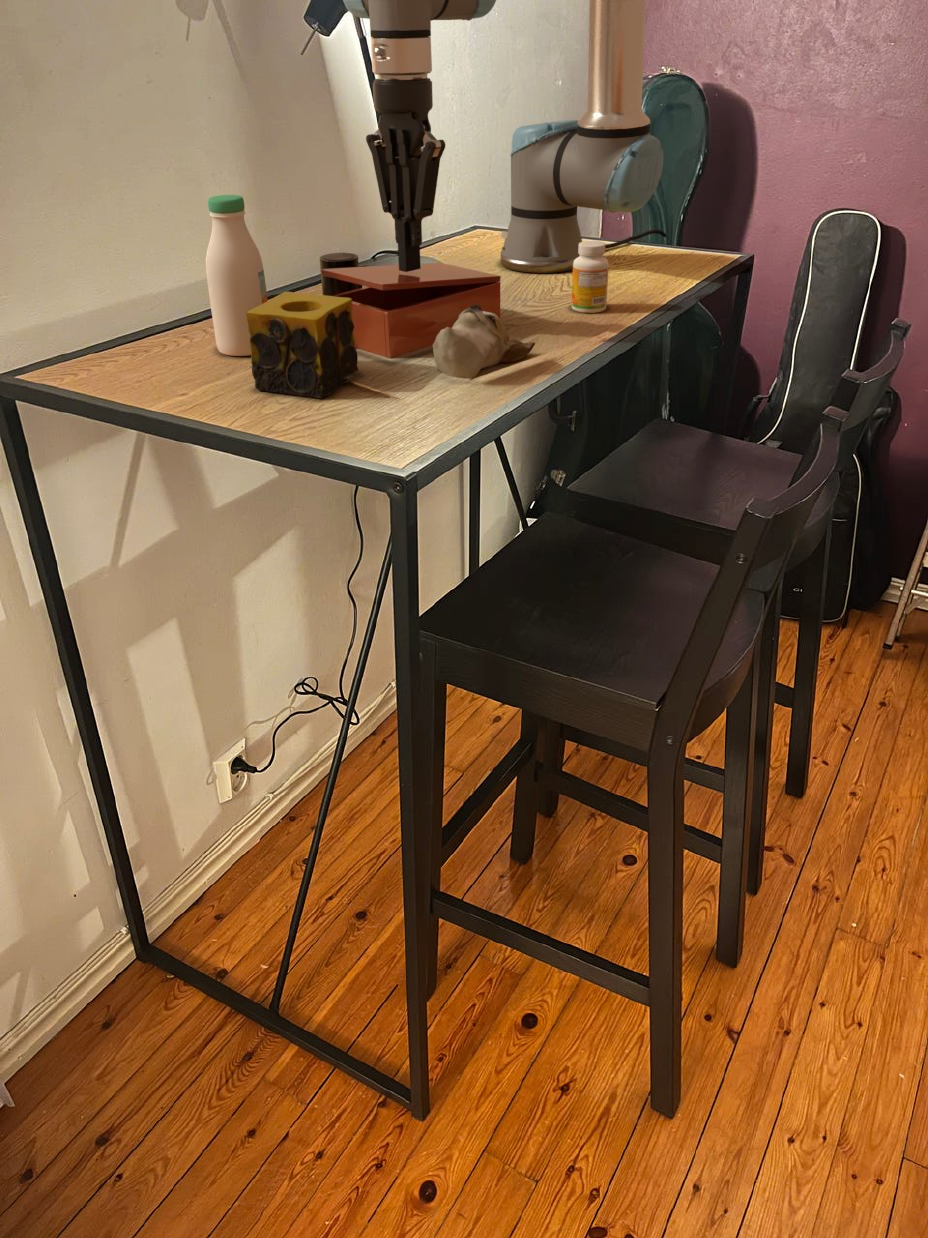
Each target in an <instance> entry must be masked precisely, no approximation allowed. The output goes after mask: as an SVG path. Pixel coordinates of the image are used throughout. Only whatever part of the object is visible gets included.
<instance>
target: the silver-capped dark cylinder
mask: <svg viewBox="0 0 928 1238" xmlns="http://www.w3.org/2000/svg"><path fill="white" fill-rule="evenodd" d="M351 267H360V265H359V255H357V254H356V253H352V252H332V253H326V254H323V255H320V257H319V269H320V279H321V290H322V295H325V296H332V295H336V294H340V293H344V292H348V291H352V290H356V289H360V288H363V285H359V284H355V283H351V282H347V281H343V280H339V279H335V278H331V277H327V276H323V275H322V269H333V268H351Z"/></svg>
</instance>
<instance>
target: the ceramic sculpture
mask: <svg viewBox="0 0 928 1238" xmlns="http://www.w3.org/2000/svg"><path fill="white" fill-rule="evenodd" d="M535 345H536V342H535V341H534V342H533V341H532V342H522V341H520V340H518V339H510V337H509V336H508V333H507V328H506V326H505V323H504V321H503V320H502V318H501V317H500V318H499V317H498V316H497V315H496V314H493V313H490V312H485V311H482V310H481V308H480V306H478V305H472V306H470V307H469V308H468V309H466V310H464V311H463V312H462V313H461V314H460V315H459V317H458V320H457V321H456V322H455V323H454V325H453V327H452V328H449V327H446V328H445V329H442V330H441V331H440V332H439V334H438V335H437V337H436V340H435V342H434V344H433V346H432V350H433V358H434V363H435V365H436V367H437V369H438V370H439V371H440V372H441V373H442V374H444V375H447V376H449V377H452V378H466V379H468V380H469V381H470V380H473V379H474V378H476V376H478V374H479V372H480V371H481V369H486V368H490V367H493V366H495V365H497V364H499V363H500V362H501V363H513V362H517V361H520V360H522V359H524V357H525V356H527V355H529V354H530V352H532V350H533V349H534V347H535Z"/></svg>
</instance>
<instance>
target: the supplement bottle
mask: <svg viewBox="0 0 928 1238" xmlns="http://www.w3.org/2000/svg"><path fill="white" fill-rule="evenodd" d="M605 245H606V243H605V242H603V241H599V240H585V241H582V242H581V243H579V247H578V254H580V256H579V257H578V258H576V259H575V260H574V262H573V270H572V279H571V280H572V281H571V309H572V310H573V311H575V312H577V313H583V314H594V313H600V312H604V311H605V310H606V309H607V306H608V305H607V303H608V285H609V284H608V283H609V264H610V263H609V260H608V259H607V257H605V256H604V255H605V253H606V249H605Z"/></svg>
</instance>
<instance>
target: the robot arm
mask: <svg viewBox="0 0 928 1238" xmlns="http://www.w3.org/2000/svg"><path fill="white" fill-rule="evenodd" d="M342 1H343V4H344V7H345V8H346V10H347V11H348V12H349V13H350V14H351V15H353V16H355V17H357V18H359V19H367V20H369V27H370V28H369V30H370V31H369V33H370V47H371V49H370V50H371V69H372V73H373V74H374V75H377V78H374V79H373V82H372V94H373V95H372V97H373V108H374V110H375V111H376V112H377V113H379V119H378V123H377V129H376V130H375V132H373V133H371V134H367V135H366V137H365V141H366V144H367V146H368V149H369V151H370V153H371V156H372V157H371V158H372V161H373V167H374V173H375V177H376V182H377V187H378V188H377V189H378V192H379V199H380V202H381V208H382V211H383V212H384V213H385V214H386V213H388V214H390V215H391V217H392V220H394V235H395V236H394V238H395V243H396V244H397V256H398V258H397V259H398V265H399V271H404V272H409V271H413V270H417V269H421V266H420V264H421V246H422V243H423V228H422V222H423V219H424V218H427V217H432V216H433V214H434V208H435V202H436V201H435V200H436V193H437V186H438V180H439V179H438V178H439V170H440V165H441V163H440V162H441V159H442V156H443V155H444V151H445V149H446V142H445V139H437V138H436V137H435V136H434V134H433V133H432V125H431V123H430V120H429V113H430V111H431V110H432V109H433V106H434V103H433V81H432V80H431V78H430V77H428V75H429V74H431V72H432V71H433V61H432V60H433V59H432V58H433V57H432V21H458V20H459V21H461V20H462V21H468V22H469V21H471V20H473V19H480V18H484V17H485V16H487V15H488V14H489V13H490V12H491V11H492V9H493V8H494V6H495V4H496V2H497V0H342ZM588 2H589V6H588V7H589V8H588V46H587V47H588V49H587V50H588V51H587V94H586V95H587V97H586V98H587V99H586V111H585V113H584V114H583V115H582V116H581V117H580V118H579V119H568V120H558V121H548V122H541V123H533V124H528V125H521V126H519V127H518V128H516V129H515V130H514V131H513V134H512V138H511V152H510V153H509V154H510V221H509V223H508V227H507V231H504V230H502V231H501V238H502V239H504V241H503V246H502V247H501V249H500V265H501V266H502V267H503V268H506V269H508V270H512V271H517V272H524V273H538V274H546V273H548V274H549V273H552V274H553V273H564V272H569V271H573V262H574V260H575V259H576V258H578V257H579V256H580V254H578V247H579V243H581V242H583V238H582V233H581V229H580V225H579V222H578V221H579V220H578V207H580V208H587V209H592V210H599V211H607V212H609V213H612V214H615V213H634V212H637V211H638V210H640V209H642V208H643V207H645V205H646V204H647V203H648V202H649V201H650V199H651V198H652V196H653V194H654V193H655V192H656V190H657V187H658V184H659V183H660V179H661V176H662V173H663V166H664V150H663V147H662V144H661V142H660V140H659V139H658V138H657V137H655V136H654V135H652V134H651V119H650V118H649V116H647V114H646V113H645V112H644V111H643V109H642V102H643V101H642V100H643V85H644V84H643V82H644V61H645V60H644V58H645V44H646V43H645V42H646V41H645V40H646V21H647V20H646V19H647V0H589V1H588ZM653 234H658V235H659V236H660V235H661V237H663V238H667V237H668V235H667V233H666V232H665V231H663V230H661V229H656V228H653V229H649V230H646V231H643V232H641V233H638V234H635V235H632V236H629V237H627V238H624V239H622V240H619V241H616V242H612V243H607V244H606V243H605V250H606V249H612V248H615V247H619V246H623V245H625V244H627V243H629V242H632V241H636V240H638V239H641V238H643V237H646V236H649V235H653Z"/></svg>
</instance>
